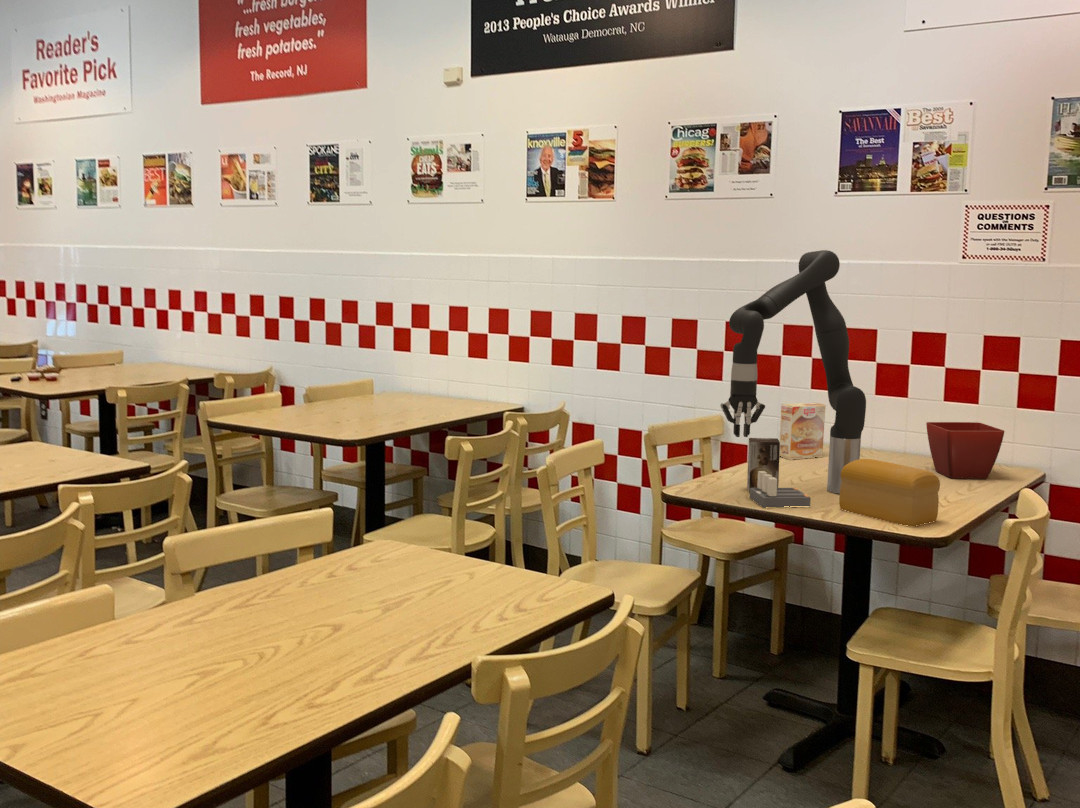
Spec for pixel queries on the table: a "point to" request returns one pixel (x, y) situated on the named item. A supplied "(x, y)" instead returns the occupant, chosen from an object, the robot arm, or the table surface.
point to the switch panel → (780, 498)
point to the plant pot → (964, 448)
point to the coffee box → (762, 459)
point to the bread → (889, 492)
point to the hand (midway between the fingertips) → (741, 436)
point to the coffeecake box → (802, 430)
